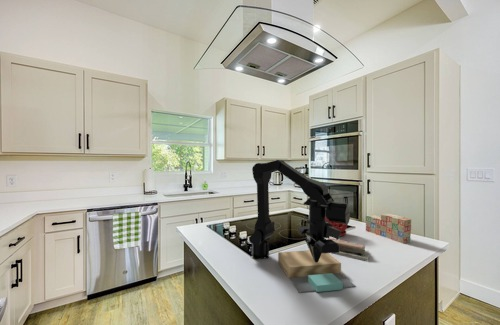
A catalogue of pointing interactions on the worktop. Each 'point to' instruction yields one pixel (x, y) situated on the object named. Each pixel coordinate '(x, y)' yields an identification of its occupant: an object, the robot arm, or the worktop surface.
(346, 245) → the packaged product
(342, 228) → the plant pot
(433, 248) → the worktop surface
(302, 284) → the mat
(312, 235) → the robot arm
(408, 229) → the stack of blocks
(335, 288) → the teal rectangular block
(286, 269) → the board
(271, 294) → the worktop surface
